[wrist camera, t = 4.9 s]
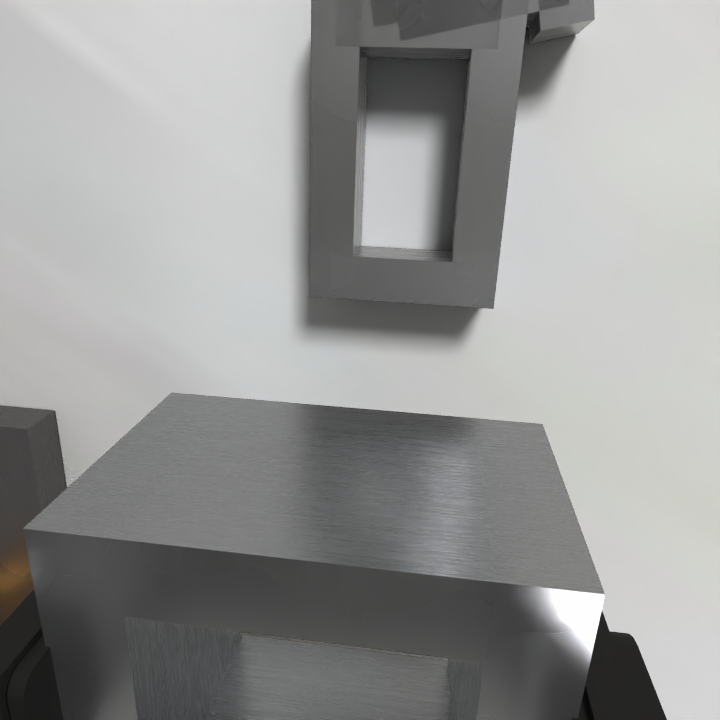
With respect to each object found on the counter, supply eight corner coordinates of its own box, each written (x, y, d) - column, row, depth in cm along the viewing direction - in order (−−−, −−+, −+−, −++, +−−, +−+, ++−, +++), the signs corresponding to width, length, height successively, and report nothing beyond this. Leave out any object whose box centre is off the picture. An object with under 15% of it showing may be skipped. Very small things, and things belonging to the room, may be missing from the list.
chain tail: (329, -350, 9) (313, -422, 8) (635, -367, 8) (664, -446, 7) (320, 282, 12) (308, 296, 11) (540, 296, 12) (550, 312, 11)
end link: (171, 392, 10) (23, 528, 7) (542, 424, 10) (605, 594, 6) (193, 668, 13) (91, 886, 9) (498, 709, 12) (524, 963, 8)
